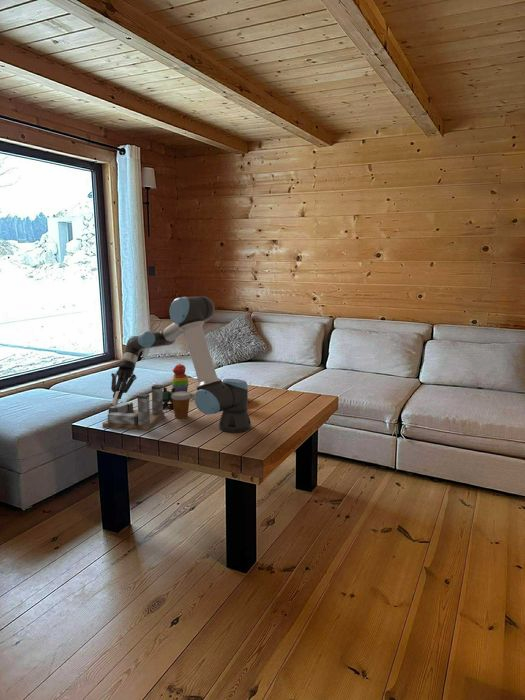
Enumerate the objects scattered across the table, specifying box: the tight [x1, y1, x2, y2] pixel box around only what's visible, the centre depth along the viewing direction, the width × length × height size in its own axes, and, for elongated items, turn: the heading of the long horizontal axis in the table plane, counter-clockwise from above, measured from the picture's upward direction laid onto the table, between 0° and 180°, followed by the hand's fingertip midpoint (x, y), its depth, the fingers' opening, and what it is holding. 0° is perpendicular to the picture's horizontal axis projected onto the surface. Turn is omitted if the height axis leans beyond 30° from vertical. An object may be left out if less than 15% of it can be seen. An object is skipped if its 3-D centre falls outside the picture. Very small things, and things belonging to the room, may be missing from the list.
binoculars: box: [162, 386, 176, 410], centre depth 256 cm, size 9×11×10 cm
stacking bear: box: [171, 363, 189, 392], centre depth 282 cm, size 11×10×18 cm
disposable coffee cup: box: [171, 391, 191, 420], centre depth 242 cm, size 10×10×12 cm
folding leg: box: [108, 402, 130, 414], centre depth 237 cm, size 4×4×14 cm
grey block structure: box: [101, 384, 165, 431], centre depth 233 cm, size 23×22×16 cm
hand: (114, 404), depth 233 cm, fingers closed
